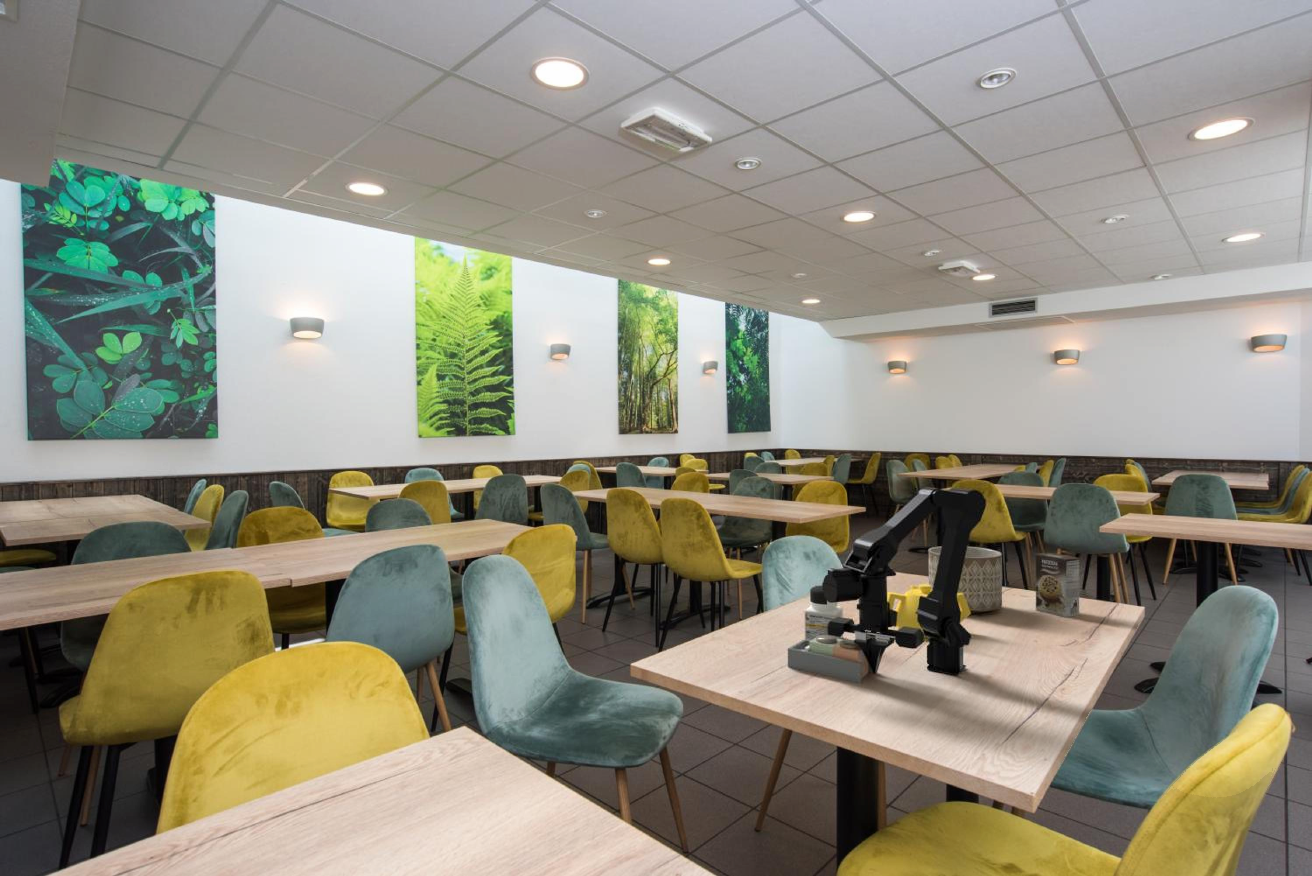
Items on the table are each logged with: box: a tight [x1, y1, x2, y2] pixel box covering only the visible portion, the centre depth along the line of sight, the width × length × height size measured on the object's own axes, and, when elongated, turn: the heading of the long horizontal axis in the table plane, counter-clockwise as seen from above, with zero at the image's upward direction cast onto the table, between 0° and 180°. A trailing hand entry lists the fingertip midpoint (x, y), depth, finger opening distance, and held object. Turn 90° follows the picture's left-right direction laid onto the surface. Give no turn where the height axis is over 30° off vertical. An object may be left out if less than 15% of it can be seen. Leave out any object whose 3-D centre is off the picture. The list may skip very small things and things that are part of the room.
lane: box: [787, 638, 873, 684], centre depth 146 cm, size 16×8×4 cm, turn 52°
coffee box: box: [1035, 552, 1081, 618], centre depth 190 cm, size 9×6×16 cm
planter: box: [928, 545, 1003, 614], centre depth 196 cm, size 19×19×16 cm
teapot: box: [887, 583, 972, 640], centre depth 173 cm, size 17×17×12 cm
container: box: [804, 585, 844, 641], centre depth 167 cm, size 8×8×13 cm
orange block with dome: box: [833, 639, 869, 678], centre depth 143 cm, size 6×6×7 cm
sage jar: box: [809, 635, 843, 657], centre depth 147 cm, size 6×6×7 cm
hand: (875, 673), depth 140 cm, fingers closed
